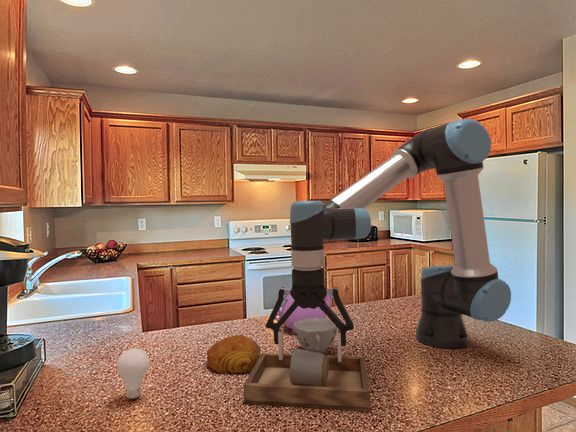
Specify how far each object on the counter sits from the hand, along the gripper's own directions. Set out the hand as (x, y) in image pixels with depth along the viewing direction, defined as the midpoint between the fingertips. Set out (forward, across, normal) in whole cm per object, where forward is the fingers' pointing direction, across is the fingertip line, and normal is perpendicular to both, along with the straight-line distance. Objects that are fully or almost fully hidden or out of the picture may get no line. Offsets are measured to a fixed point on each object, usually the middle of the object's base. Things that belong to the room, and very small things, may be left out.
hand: (310, 358), depth 89 cm
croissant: (+7, +22, -11) cm, 25 cm away
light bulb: (+6, +38, +10) cm, 40 cm away
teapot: (+7, +5, -43) cm, 44 cm away
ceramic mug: (+6, 0, -1) cm, 6 cm away
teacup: (+7, 0, -22) cm, 23 cm away
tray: (+7, 0, 0) cm, 7 cm away
